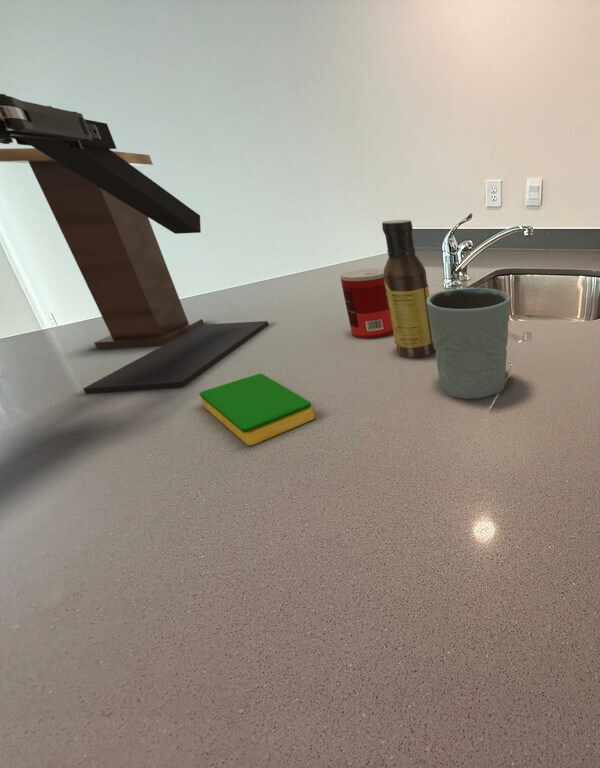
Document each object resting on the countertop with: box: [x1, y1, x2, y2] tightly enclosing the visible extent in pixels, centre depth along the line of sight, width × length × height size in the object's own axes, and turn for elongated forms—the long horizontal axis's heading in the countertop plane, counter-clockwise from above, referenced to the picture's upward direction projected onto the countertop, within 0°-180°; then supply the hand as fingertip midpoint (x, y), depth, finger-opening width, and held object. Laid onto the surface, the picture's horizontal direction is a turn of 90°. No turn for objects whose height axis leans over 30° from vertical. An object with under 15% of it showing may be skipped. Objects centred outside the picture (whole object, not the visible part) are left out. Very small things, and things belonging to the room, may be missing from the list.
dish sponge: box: [199, 373, 315, 446], centre depth 48 cm, size 7×14×2 cm, turn 51°
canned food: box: [340, 268, 394, 339], centre depth 72 cm, size 8×8×11 cm
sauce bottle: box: [381, 219, 436, 358], centre depth 61 cm, size 6×6×20 cm
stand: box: [0, 147, 205, 350], centre depth 69 cm, size 14×12×30 cm
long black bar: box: [16, 105, 202, 235], centre depth 55 cm, size 24×4×3 cm, turn 6°
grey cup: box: [426, 287, 511, 400], centre depth 51 cm, size 10×10×12 cm
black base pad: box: [82, 320, 270, 395], centre depth 67 cm, size 28×12×1 cm, turn 7°
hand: (87, 136), depth 50 cm, fingers closed on long black bar, 4 cm apart
